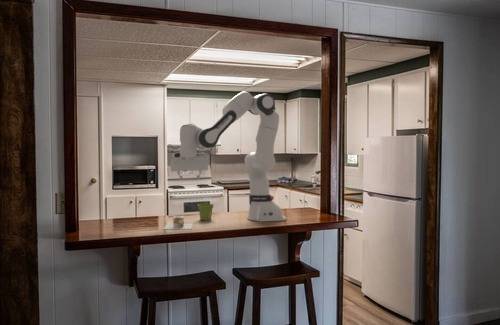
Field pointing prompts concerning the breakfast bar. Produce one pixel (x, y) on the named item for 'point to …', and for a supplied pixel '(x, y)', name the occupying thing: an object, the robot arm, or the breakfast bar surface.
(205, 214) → the plant pot
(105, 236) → the breakfast bar surface
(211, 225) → the breakfast bar surface
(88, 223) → the breakfast bar surface
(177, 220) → the birch block
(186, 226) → the sage mat
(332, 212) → the breakfast bar surface
